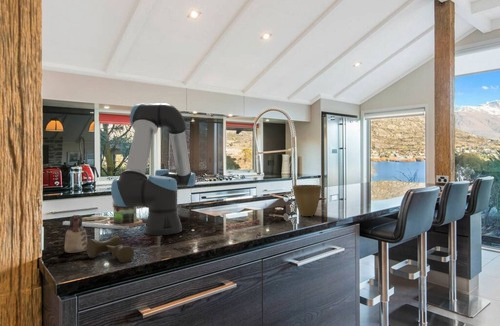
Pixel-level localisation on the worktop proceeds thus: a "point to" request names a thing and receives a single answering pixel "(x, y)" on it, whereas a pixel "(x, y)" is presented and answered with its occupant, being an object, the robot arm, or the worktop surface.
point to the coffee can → (124, 214)
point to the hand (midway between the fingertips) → (125, 205)
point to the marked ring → (138, 222)
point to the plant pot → (307, 198)
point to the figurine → (75, 236)
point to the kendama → (110, 249)
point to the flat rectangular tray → (102, 222)
